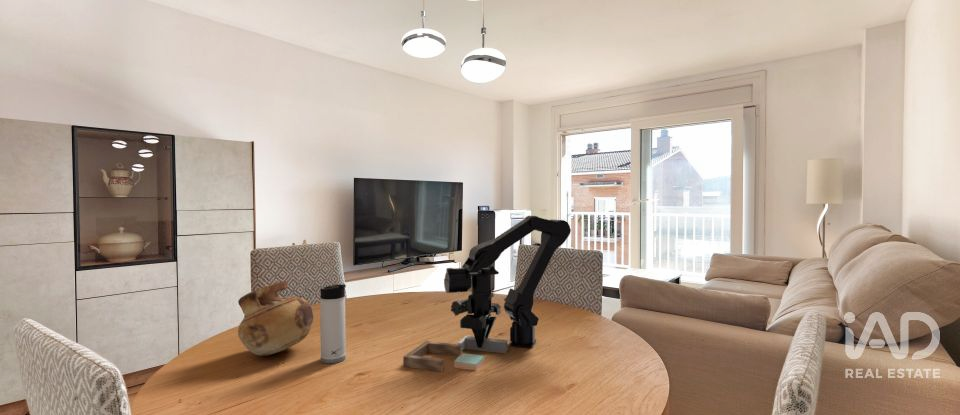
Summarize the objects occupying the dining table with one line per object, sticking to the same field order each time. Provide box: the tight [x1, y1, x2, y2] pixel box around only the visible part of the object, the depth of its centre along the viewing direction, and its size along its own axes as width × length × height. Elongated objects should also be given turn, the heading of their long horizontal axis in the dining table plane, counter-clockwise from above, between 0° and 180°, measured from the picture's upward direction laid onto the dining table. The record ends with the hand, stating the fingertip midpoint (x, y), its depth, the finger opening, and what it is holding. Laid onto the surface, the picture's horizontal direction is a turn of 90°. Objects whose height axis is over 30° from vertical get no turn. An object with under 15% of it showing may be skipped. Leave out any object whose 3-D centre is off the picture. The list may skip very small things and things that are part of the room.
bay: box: [402, 340, 462, 372], centre depth 113 cm, size 10×13×2 cm
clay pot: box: [237, 280, 314, 357], centre depth 118 cm, size 19×19×20 cm
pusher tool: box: [457, 335, 508, 354], centre depth 121 cm, size 13×7×3 cm, turn 71°
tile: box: [453, 353, 485, 371], centre depth 110 cm, size 6×6×2 cm
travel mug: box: [319, 283, 347, 365], centre depth 114 cm, size 6×7×20 cm
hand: (481, 345), depth 121 cm, fingers open, 3 cm apart
